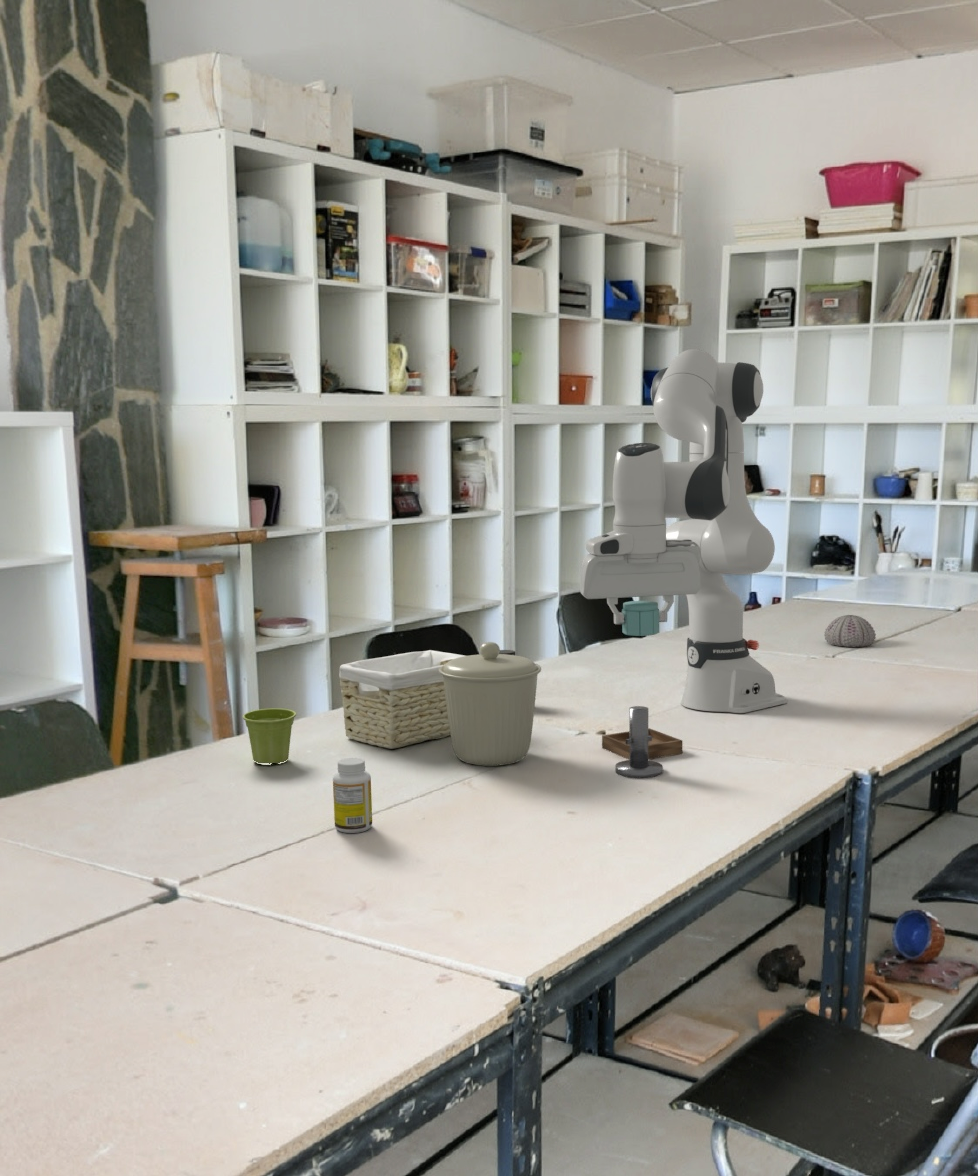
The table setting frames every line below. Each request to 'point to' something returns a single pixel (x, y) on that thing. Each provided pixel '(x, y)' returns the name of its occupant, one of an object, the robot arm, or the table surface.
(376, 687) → the storage basket
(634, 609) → the cap
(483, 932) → the table surface
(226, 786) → the table surface
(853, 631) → the sea urchin shell
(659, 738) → the walnut tray
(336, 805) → the supplement bottle
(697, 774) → the table surface
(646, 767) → the post
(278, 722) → the plant pot
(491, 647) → the canister
